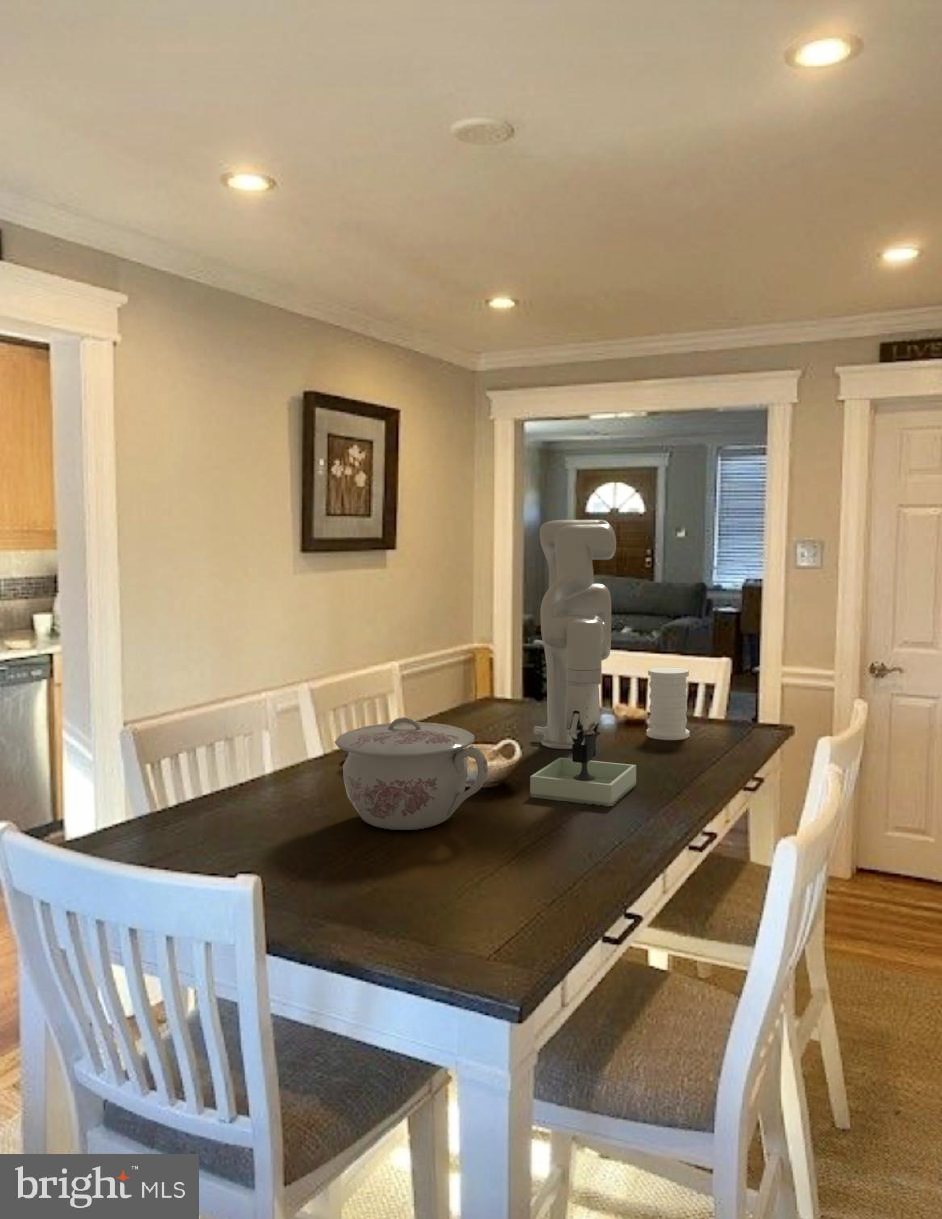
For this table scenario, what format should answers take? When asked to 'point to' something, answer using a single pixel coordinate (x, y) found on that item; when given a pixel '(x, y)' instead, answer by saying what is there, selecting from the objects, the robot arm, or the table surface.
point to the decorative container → (668, 703)
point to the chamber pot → (409, 772)
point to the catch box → (583, 782)
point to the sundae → (588, 753)
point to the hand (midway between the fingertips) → (584, 758)
